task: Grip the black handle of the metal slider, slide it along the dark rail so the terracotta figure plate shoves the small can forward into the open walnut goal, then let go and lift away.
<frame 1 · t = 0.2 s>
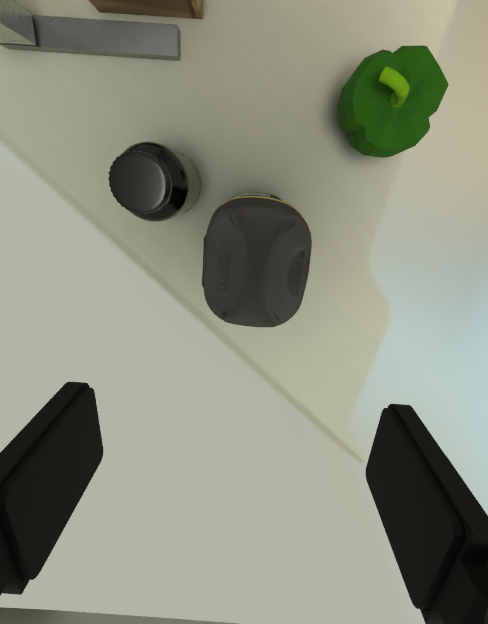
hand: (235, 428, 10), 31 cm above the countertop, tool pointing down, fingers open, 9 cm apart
bell pepper: (368, 115, 33), on the countertop
supplement bottle: (173, 183, 37), on the countertop
coffee jar: (255, 232, 38), on the countertop
rail: (92, 39, 31), on the countertop
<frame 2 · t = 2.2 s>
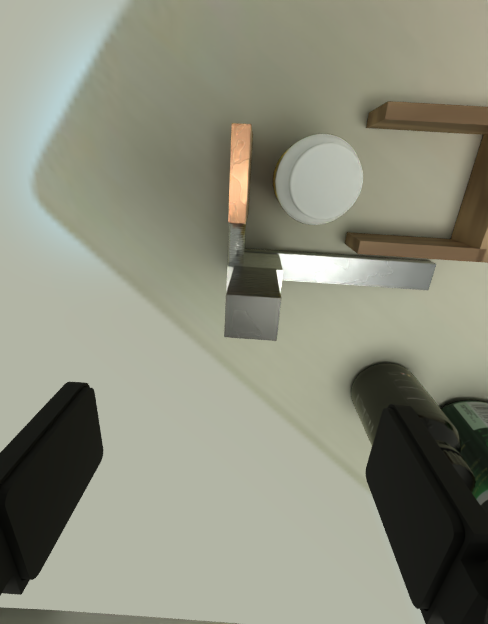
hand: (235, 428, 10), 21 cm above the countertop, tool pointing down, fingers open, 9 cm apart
goal: (413, 186, 26), on the countertop
supplement bottle 2: (304, 180, 26), on the countertop
supplement bottle: (381, 386, 34), on the countertop
coffee jar: (459, 428, 36), on the countertop
rail: (329, 266, 29), on the countertop
carriage: (257, 221, 21), point 6 cm above the countertop, slide at 0.0 cm
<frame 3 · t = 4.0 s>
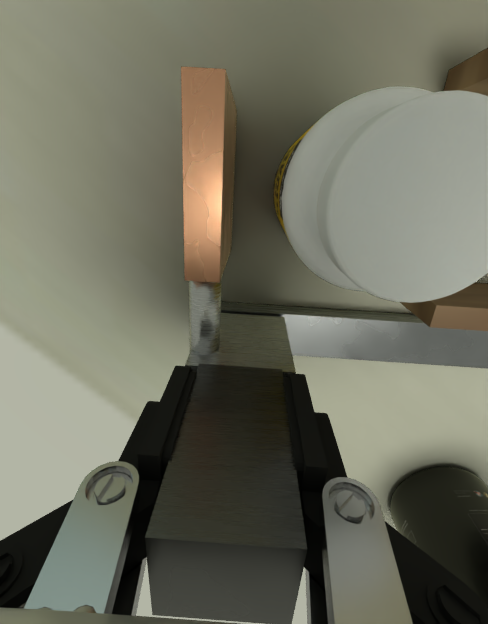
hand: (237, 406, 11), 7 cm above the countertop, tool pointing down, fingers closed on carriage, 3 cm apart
supplement bottle 2: (326, 191, 15), on the countertop
supplement bottle: (434, 494, 23), on the countertop
rail: (364, 330, 18), on the countertop
carriage: (244, 281, 10), point 7 cm above the countertop, slide at 0.0 cm, touching gripper
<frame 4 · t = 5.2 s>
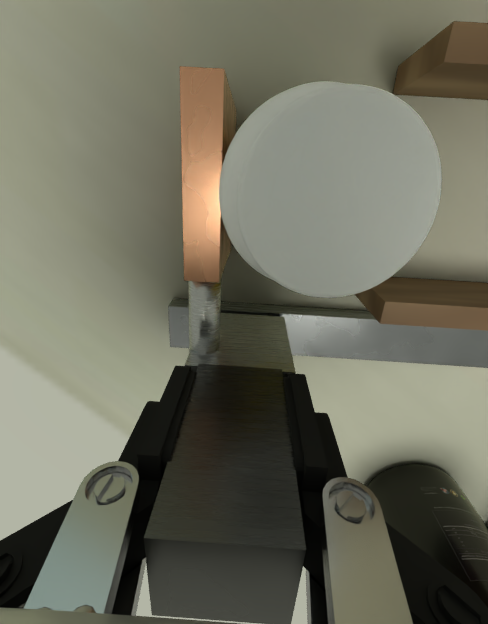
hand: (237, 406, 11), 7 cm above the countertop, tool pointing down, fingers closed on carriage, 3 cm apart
goal: (472, 199, 15), on the countertop
supplement bottle 2: (289, 188, 15), on the countertop, touching carriage
supplement bottle: (406, 491, 23), on the countertop
rail: (328, 328, 18), on the countertop
carriage: (243, 281, 10), point 6 cm above the countertop, slide at 2.1 cm, touching supplement bottle 2, gripper
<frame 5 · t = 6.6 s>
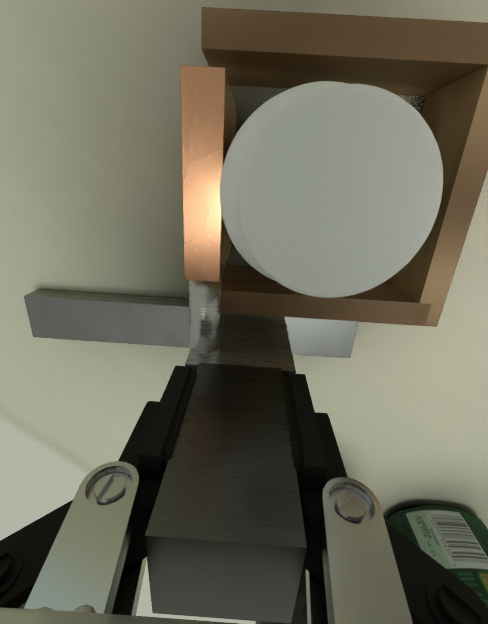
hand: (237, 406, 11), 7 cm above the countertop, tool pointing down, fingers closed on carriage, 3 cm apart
goal: (313, 189, 15), on the countertop
supplement bottle 2: (289, 188, 15), on the countertop, touching carriage
supplement bottle: (301, 483, 23), on the countertop
coffee jar: (420, 537, 25), on the countertop
rail: (194, 318, 18), on the countertop
carriage: (244, 280, 10), point 6 cm above the countertop, slide at 9.7 cm, touching supplement bottle 2, gripper
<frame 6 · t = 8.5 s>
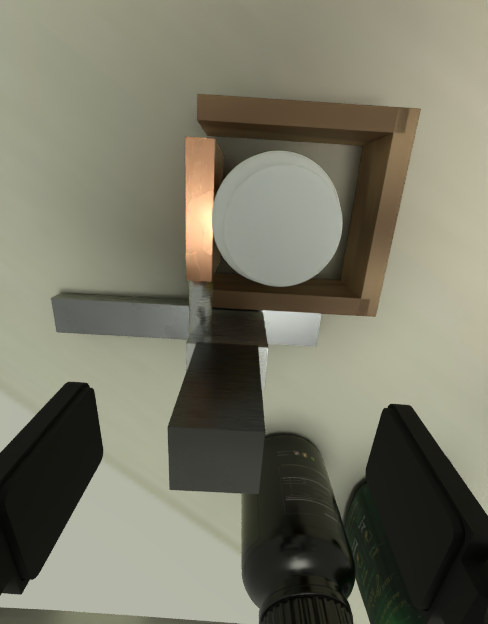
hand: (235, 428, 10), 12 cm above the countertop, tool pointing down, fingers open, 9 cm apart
goal: (283, 213, 20), on the countertop
supplement bottle 2: (265, 212, 20), on the countertop, touching carriage
supplement bottle: (282, 461, 27), on the countertop
coffee jar: (386, 509, 29), on the countertop
rail: (190, 316, 22), on the countertop
carriage: (229, 280, 14), point 7 cm above the countertop, slide at 9.8 cm, touching supplement bottle 2
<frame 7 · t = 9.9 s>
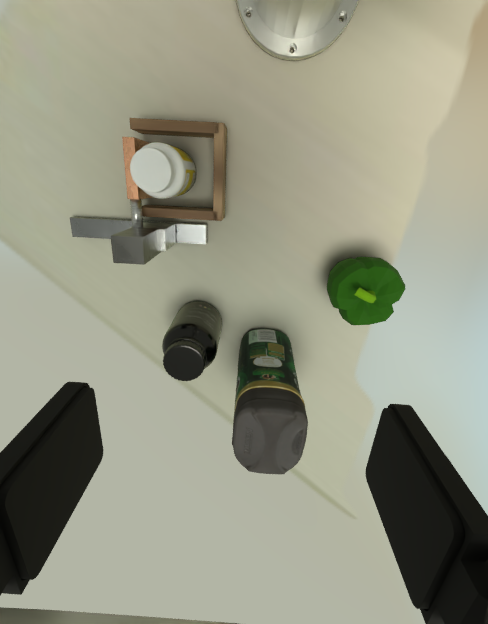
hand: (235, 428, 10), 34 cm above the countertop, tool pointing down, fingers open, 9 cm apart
goal: (183, 172, 39), on the countertop
supplement bottle 2: (175, 172, 39), on the countertop, touching carriage
bell pepper: (351, 276, 43), on the countertop
supplement bottle: (200, 320, 47), on the countertop
coffee jar: (264, 353, 49), on the countertop
rail: (141, 229, 42), on the countertop
carriage: (144, 197, 34), point 7 cm above the countertop, slide at 9.8 cm, touching supplement bottle 2
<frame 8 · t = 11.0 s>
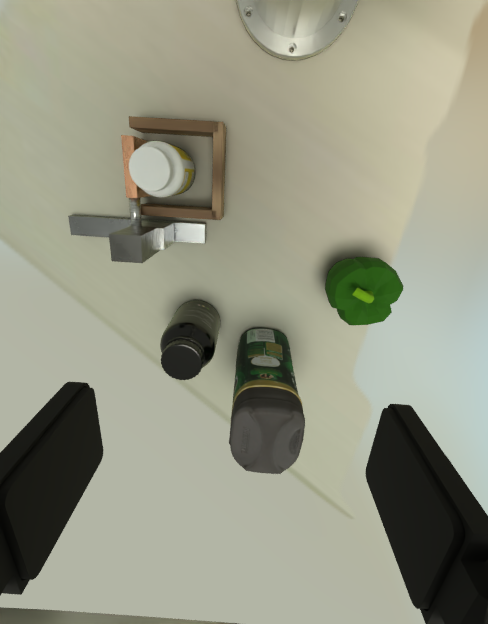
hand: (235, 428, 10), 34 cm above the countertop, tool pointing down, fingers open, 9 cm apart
goal: (182, 171, 39), on the countertop
supplement bottle 2: (174, 171, 39), on the countertop, touching carriage
bell pepper: (350, 276, 44), on the countertop
supplement bottle: (198, 319, 47), on the countertop
coffee jar: (263, 353, 49), on the countertop
rail: (140, 228, 42), on the countertop
carriage: (143, 196, 34), point 7 cm above the countertop, slide at 9.8 cm, touching supplement bottle 2
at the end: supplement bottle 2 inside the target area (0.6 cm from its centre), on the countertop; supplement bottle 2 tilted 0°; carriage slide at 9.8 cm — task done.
